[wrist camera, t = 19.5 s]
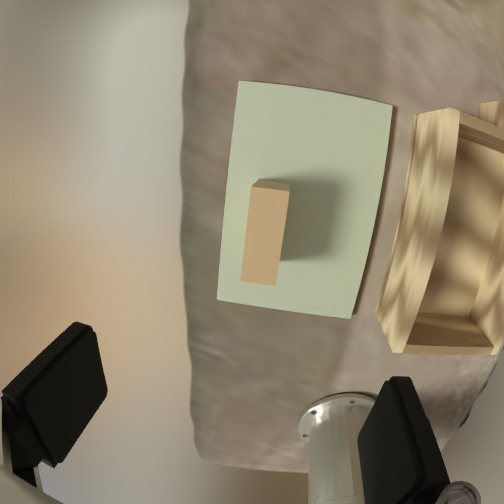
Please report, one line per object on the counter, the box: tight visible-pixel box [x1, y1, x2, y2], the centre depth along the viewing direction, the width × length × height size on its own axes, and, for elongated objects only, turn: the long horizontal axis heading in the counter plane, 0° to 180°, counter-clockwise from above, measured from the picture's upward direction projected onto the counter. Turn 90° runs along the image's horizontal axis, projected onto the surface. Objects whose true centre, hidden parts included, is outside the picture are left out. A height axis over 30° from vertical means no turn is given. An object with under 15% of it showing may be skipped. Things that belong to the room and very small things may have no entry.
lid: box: [217, 81, 392, 319], centre depth 28 cm, size 23×15×8 cm, turn 173°
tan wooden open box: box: [375, 100, 504, 355], centre depth 24 cm, size 26×14×10 cm, turn 174°
